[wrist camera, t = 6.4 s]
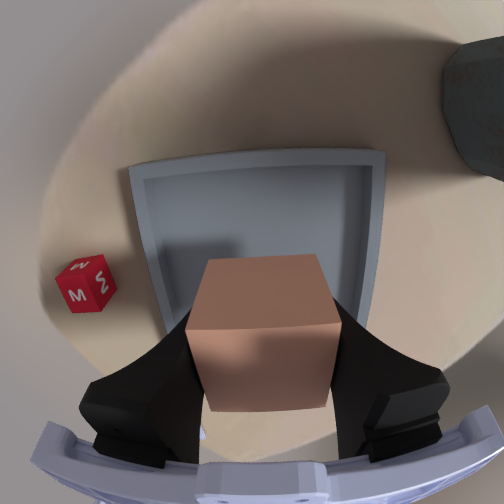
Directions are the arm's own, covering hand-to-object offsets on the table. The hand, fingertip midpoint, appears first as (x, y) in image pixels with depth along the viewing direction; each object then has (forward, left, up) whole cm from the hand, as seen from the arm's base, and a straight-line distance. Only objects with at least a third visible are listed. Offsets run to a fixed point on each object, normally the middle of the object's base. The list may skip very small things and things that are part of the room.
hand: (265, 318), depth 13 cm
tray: (0, 0, -6) cm, 6 cm away
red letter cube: (-13, -1, -6) cm, 14 cm away
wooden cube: (0, 0, -2) cm, 2 cm away
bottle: (+17, +11, -6) cm, 21 cm away
